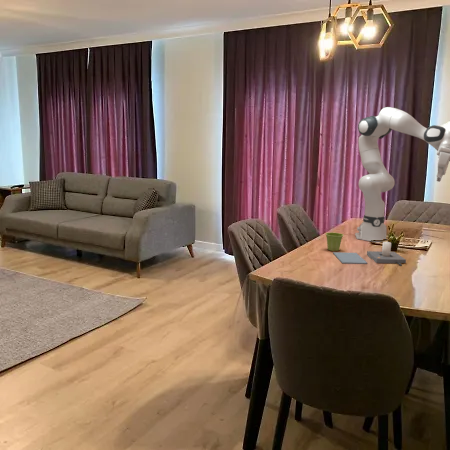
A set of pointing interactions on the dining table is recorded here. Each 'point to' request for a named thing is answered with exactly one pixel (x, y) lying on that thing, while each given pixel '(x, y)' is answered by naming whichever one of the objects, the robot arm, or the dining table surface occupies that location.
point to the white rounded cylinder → (386, 249)
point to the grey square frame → (379, 259)
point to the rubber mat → (349, 258)
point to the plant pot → (333, 241)
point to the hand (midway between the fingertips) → (438, 179)
